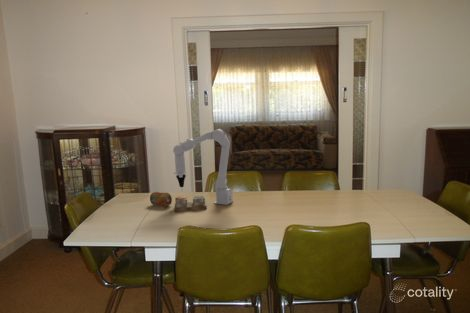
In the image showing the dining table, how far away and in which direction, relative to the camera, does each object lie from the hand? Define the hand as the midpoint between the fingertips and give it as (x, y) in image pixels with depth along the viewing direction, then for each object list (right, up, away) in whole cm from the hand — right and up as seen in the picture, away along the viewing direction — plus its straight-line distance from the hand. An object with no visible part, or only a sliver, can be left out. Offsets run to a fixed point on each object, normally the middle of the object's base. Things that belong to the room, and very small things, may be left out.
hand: (181, 186), depth 216 cm
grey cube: (+11, -9, -8) cm, 16 cm away
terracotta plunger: (+1, -9, -10) cm, 13 cm away
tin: (-12, -12, -1) cm, 17 cm away
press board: (+6, -12, -8) cm, 16 cm away
